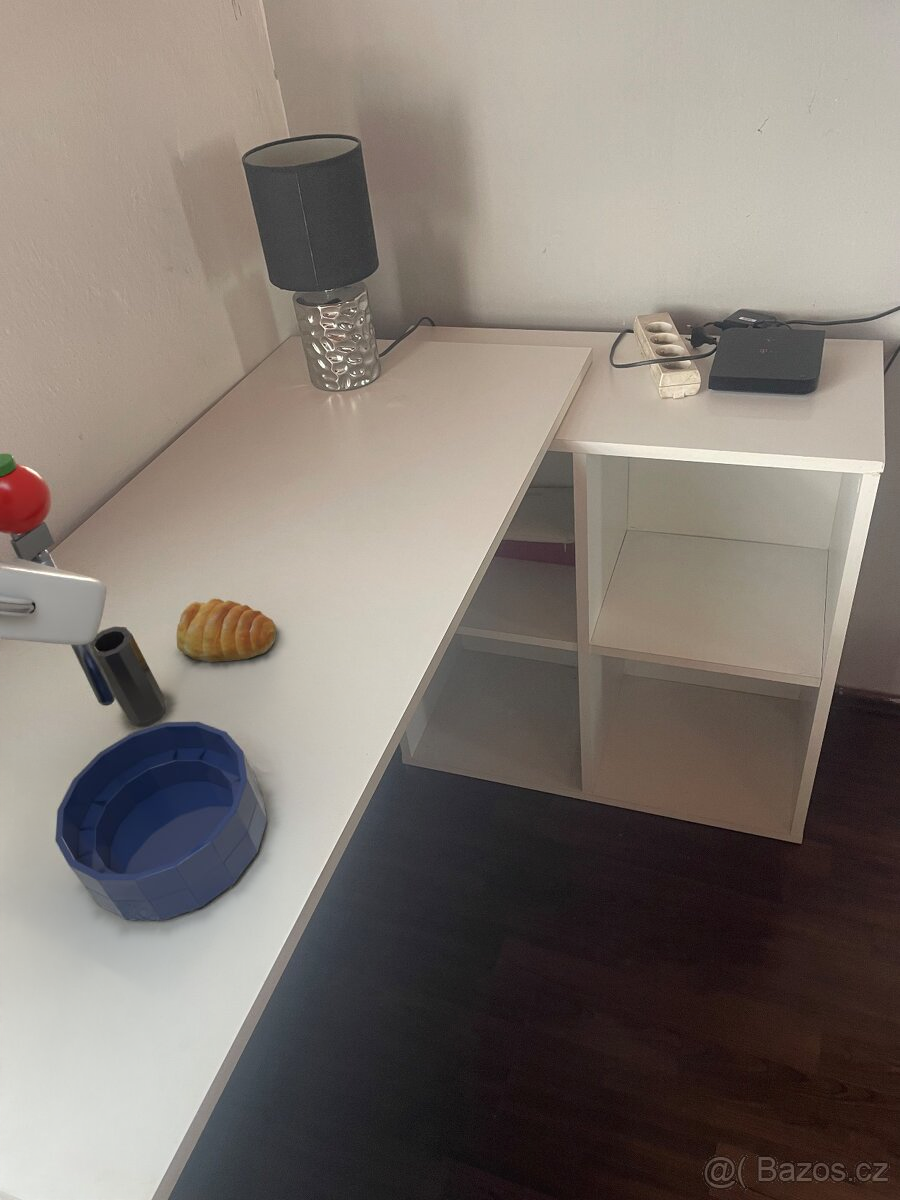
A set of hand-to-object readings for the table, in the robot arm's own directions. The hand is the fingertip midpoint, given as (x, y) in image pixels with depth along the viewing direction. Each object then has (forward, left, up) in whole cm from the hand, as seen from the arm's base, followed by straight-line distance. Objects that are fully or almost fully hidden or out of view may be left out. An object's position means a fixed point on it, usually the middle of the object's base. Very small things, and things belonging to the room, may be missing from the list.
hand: (53, 588), depth 55 cm
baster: (-1, 0, -10) cm, 10 cm away
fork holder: (+3, +12, -23) cm, 26 cm away
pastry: (+13, +15, -23) cm, 30 cm away
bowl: (-1, -3, -23) cm, 23 cm away
